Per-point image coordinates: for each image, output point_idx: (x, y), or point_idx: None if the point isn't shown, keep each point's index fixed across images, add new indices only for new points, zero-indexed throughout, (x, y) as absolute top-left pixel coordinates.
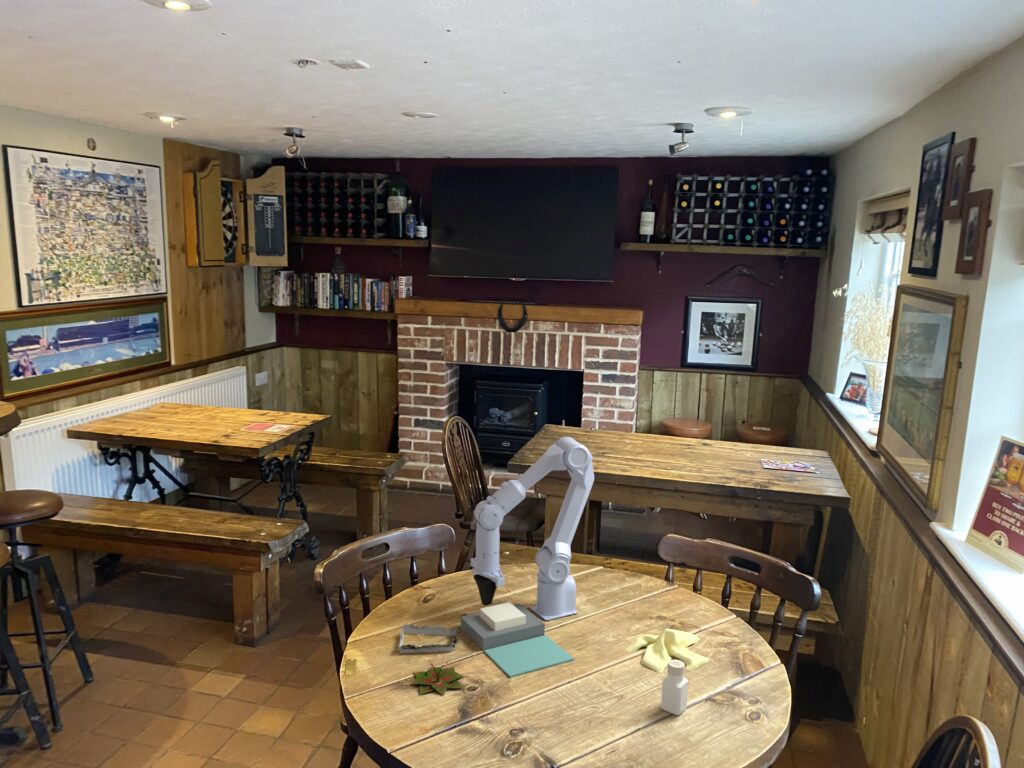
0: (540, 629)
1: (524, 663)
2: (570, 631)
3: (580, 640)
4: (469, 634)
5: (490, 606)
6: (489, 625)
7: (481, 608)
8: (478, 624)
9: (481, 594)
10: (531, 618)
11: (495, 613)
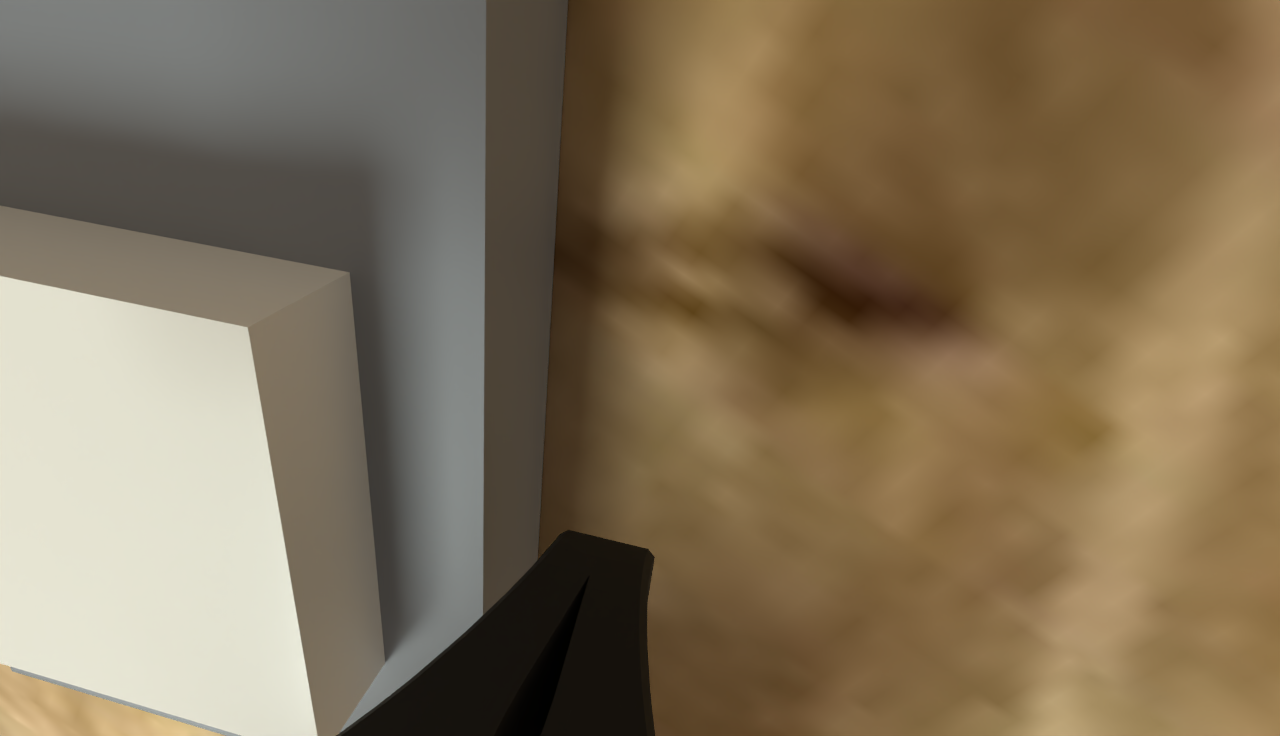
0: None
1: None
2: (148, 726)
3: (21, 681)
4: None
5: (277, 519)
6: (33, 212)
7: (246, 358)
8: (99, 84)
9: (562, 673)
10: None
11: (12, 417)
